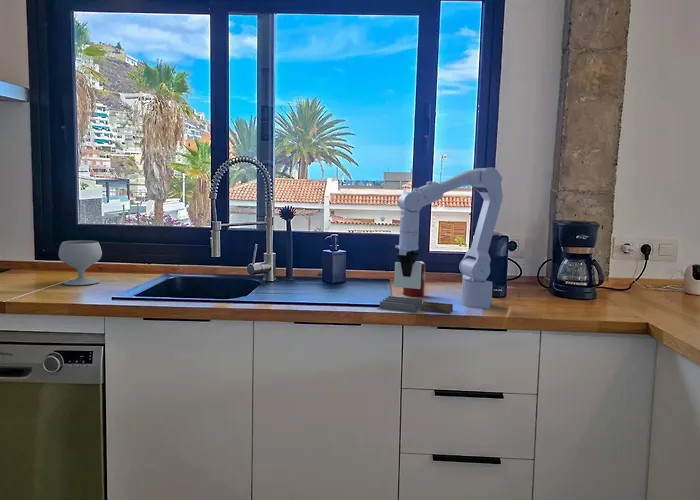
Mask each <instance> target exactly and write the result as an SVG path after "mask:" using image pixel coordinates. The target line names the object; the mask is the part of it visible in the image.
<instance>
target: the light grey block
mask: <svg viewBox="0 0 700 500" xmlns="http://www.w3.org/2000/svg"><path fill="white" fill-rule="evenodd" d="M421 265H422V264H415V263H413V266H412V271H411V275H410V277H404V276H403V274H402V268H401V263H400V261H395V262H394V278H393V287H395V288H403V287H404V288H414V289H420V286H421Z"/></svg>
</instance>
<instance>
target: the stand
mask: <svg viewBox="0 0 700 500" xmlns="http://www.w3.org/2000/svg"><path fill="white" fill-rule="evenodd" d="M453 306H454V304H453V303H444V302H435V301H434V302H433V301H423V300H422V303H421V309H420V310H419V311H420V312H425V313H436V314H444V315H445V314H446V315H451V313H452V312H453V309H454V307H453Z"/></svg>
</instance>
